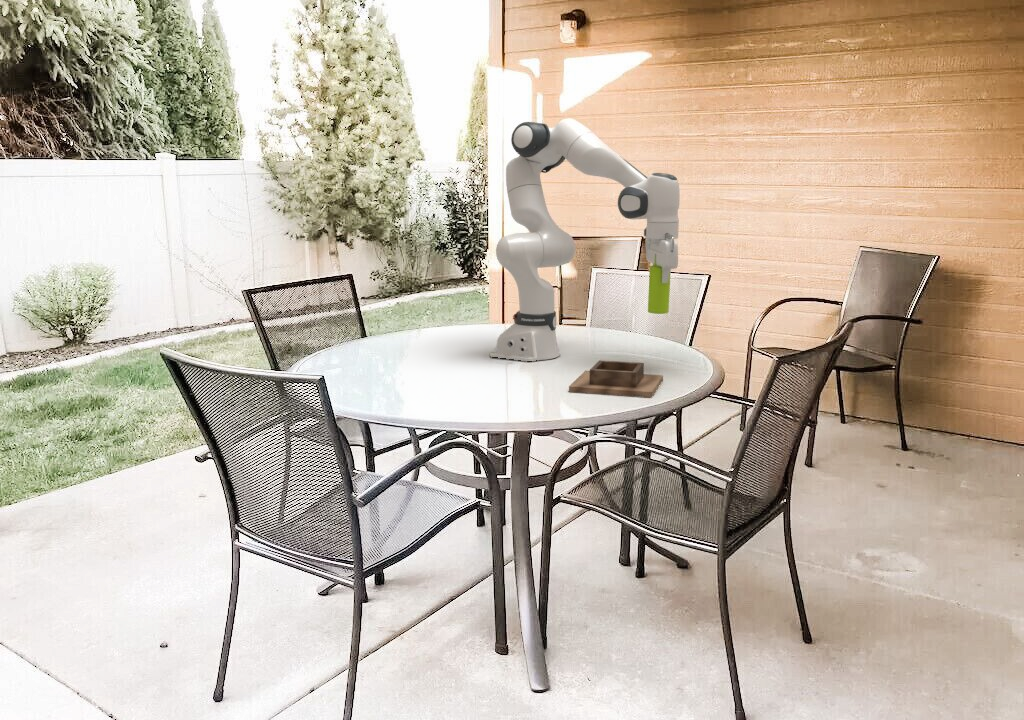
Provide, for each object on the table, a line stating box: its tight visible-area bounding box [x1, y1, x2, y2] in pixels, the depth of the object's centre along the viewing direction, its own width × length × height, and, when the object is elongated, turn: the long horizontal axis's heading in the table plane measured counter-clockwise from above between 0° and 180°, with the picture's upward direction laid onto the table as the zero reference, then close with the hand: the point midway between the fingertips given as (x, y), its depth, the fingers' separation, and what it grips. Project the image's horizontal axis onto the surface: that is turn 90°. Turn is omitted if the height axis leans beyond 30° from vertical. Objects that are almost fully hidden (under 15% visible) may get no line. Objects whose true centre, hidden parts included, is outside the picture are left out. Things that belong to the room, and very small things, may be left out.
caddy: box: [568, 359, 664, 398], centre depth 210 cm, size 22×18×6 cm
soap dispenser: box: [647, 254, 672, 315], centre depth 222 cm, size 6×7×20 cm
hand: (660, 281), depth 223 cm, fingers closed on soap dispenser, 6 cm apart
